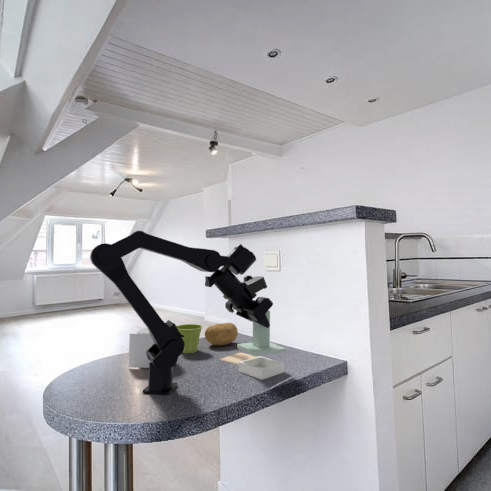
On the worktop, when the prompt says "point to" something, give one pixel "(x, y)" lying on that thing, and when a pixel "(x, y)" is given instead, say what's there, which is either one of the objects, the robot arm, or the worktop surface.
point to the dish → (261, 367)
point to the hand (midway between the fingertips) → (265, 325)
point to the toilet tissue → (139, 348)
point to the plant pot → (190, 336)
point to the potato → (221, 334)
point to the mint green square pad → (237, 358)
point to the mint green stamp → (261, 341)
